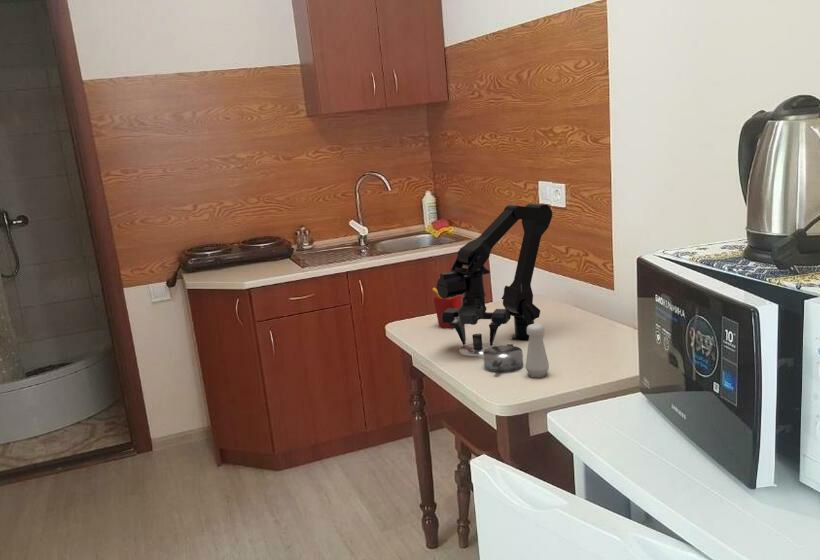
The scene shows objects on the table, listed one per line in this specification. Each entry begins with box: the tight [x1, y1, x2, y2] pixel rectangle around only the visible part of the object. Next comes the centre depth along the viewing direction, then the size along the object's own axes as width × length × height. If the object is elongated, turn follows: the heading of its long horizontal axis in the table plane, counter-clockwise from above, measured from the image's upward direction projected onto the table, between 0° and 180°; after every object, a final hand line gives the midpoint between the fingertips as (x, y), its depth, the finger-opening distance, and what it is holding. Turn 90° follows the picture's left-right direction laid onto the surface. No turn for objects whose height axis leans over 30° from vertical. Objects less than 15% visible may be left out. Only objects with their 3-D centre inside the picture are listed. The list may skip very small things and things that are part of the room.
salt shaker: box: [525, 323, 550, 378], centre depth 179 cm, size 6×6×13 cm
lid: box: [459, 333, 497, 357], centre depth 203 cm, size 11×11×5 cm
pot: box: [483, 344, 524, 374], centre depth 188 cm, size 15×10×4 cm, turn 158°
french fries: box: [431, 287, 462, 329], centre depth 227 cm, size 9×8×15 cm
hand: (477, 345), depth 203 cm, fingers open, 8 cm apart
